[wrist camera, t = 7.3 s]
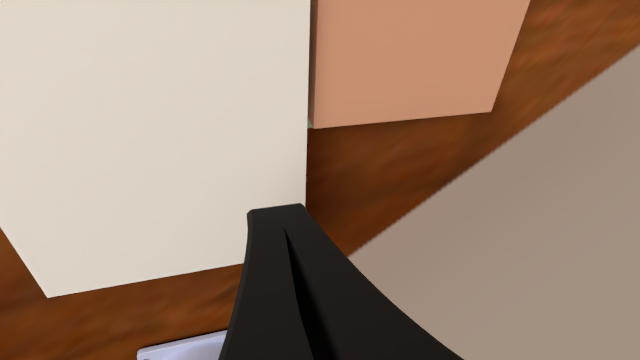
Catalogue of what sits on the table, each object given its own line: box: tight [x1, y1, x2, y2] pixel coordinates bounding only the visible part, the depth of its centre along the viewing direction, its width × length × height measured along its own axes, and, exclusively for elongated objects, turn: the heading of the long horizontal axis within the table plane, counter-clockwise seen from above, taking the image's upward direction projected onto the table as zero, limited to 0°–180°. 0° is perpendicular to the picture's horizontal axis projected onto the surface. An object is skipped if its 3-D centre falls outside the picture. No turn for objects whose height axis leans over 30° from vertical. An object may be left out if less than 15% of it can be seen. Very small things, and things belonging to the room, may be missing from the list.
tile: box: [307, 0, 530, 129], centre depth 16 cm, size 6×9×2 cm, turn 88°
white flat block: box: [0, 0, 310, 298], centre depth 15 cm, size 14×12×3 cm
